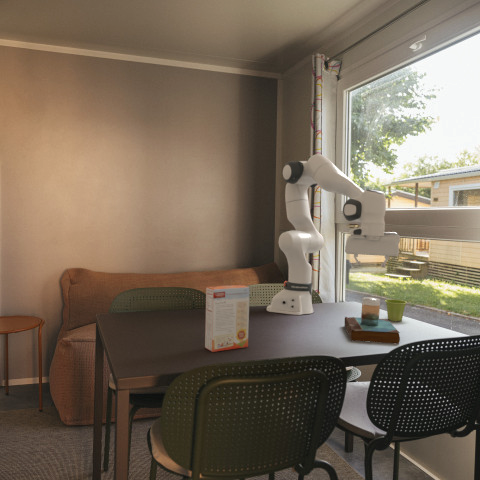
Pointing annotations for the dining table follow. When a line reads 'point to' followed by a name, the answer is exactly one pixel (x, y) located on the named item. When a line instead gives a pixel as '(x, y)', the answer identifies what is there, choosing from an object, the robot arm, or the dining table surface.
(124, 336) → the dining table surface
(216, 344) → the cracker box
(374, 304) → the glass jar
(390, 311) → the plant pot
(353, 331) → the book
